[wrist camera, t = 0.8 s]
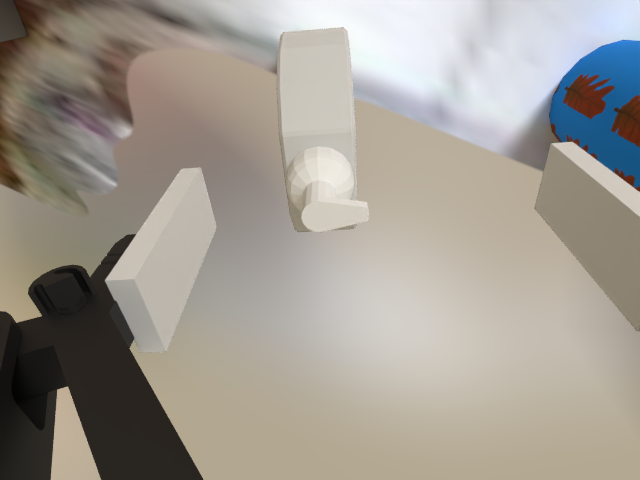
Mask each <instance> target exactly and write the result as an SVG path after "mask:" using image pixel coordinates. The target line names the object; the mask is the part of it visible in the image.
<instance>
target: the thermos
mask: <svg viewBox="0 0 640 480" xmlns="http://www.w3.org/2000/svg"><path fill="white" fill-rule="evenodd" d="M549 117H550V122H551V128H552V132H553V133H554V135H555V136H556V137H557V139H558V140H559V141H560V143H562V142H573V143H575V144H576V145H577V146H579V147H580V148H581V149H583V150H584V151H585V152H587V153H588V154H589V155H591V156H592V157H593V158H595V159H596V160H597V161H599V162H600V163H601V164H603V165H604V166H605V167H607V168H608V169H609V170H611V171H612V172H613V173H615V174H616V175H617V176H619V177H620V178H621V179H623V180H624V181H625V182H627V183H628V184H629V185H631V186H632V187H633V188H635V189H636V190H637V191H639V192H640V41H631V40H622V41H618V42H615V43H611V44H607V45H604V46H601V47H599V48H598V49H596V50H595V51H593V52H591V53H590V54H588V55H587V56H585V57H583V58H582V59H580V60H579V61H578V62H577V64H576V65H575V66H574V67H573V68H572V69H571V70H570V71H569V72H568V73H567V74H566V75H565V76H564V77H563V79H562V81H561V83H560V85H559V87H558V88H557V90H556V92H555V94H554V96H553V99H552V104H551V109H550V114H549Z"/></svg>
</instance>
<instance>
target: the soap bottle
mask: <svg viewBox="0 0 640 480" xmlns="http://www.w3.org/2000/svg"><path fill="white" fill-rule="evenodd" d="M277 100H278V101H277V103H278V121H279V137H280V145H281V151H282V160H283V168H284V175H285V183H286V190H287V197H288V205H289V212H290V216H291V219H292V222H293V225H294V228H295V230H297V232H309V231H314V232H324V231H329V230H343V229H354V228H355V227H356V226H357V223H361V222H365V221H368V219H369V209H368V204H367V202H362V201H357V174H356V139H355V118H354V99H353V82H352V70H351V58H350V46H349V40H348V33H347V30H346V29H345V28H344V27H341V28H329V29H317V30H305V31H293V32H283V34H282V35H281V37H280V42H279V47H278V52H277Z"/></svg>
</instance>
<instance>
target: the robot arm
mask: <svg viewBox="0 0 640 480" xmlns="http://www.w3.org/2000/svg"><path fill="white" fill-rule="evenodd" d="M535 209H536V210H537V211H538V213H539V214H540V215H541V217H542V218H543V219H544V220H545V221H546V223H547V224H548V225H549V226H550V227H551V229H552V230H553V231H554V232H555V233H556V234H557V236H558V237H559V238H560V239H561V241H562V242H563V243H564V244H565V245H566V246H567V248H568V249H569V250H570V251H571V253H572V254H573V255H574V256H575V257H576V259H577V260H578V261H579V262H580V263H581V264H582V266H583V267H584V268H585V269H586V271H587V272H588V273H589V274H590V276H591V277H592V278H593V279H594V280H595V282H596V283H597V284H598V285H599V286H600V288H601V289H602V290H603V291H604V292H605V294H606V295H607V296H608V297H609V298H610V300H611V301H612V302H613V303H614V304H615V306H616V307H617V308H618V309H619V310H620V312H621V313H622V314H623V315H624V316H625V318H626V319H627V320H628V321H629V322H630V323H631V325H632V326H633V327H634V328H635V330H636V331H640V192H639V191H637V190H636V189H635V188H633V187H632V186H631V185H629V184H628V183H627V182H625V181H624V180H623V179H621V178H620V177H619V176H617V175H616V174H615V173H613V172H612V171H611V170H609V169H608V168H607V167H605V166H604V165H603V164H601V163H600V162H599V161H597V160H596V159H595V158H593V157H592V156H591V155H589V154H588V153H587V152H585V151H584V150H583V149H581V148H580V147H579V146H577V145H576V144H575V143H573V142H562V143H551V145H550V149H549V153H548V157H547V161H546V165H545V169H544V173H543V177H542V181H541V184H540V188H539V193H538V196H537V200H536V205H535ZM216 228H217V227H216V223H215V219H214V215H213V212H212V208H211V204H210V200H209V196H208V192H207V189H206V185H205V182H204V177H203V174H202V170H201V168H186V169H181V170H180V172H179V173H178V175H177V176H176V178H175V179H174V180H173V182H172V183H171V185H170V186H169V188H168V189H167V191H166V192H165V194H164V195H163V197H162V198H161V199H160V201H159V202H158V204H157V205H156V207H155V208H154V210H153V211H152V213H151V214H150V215H149V217H148V218H147V220H146V221H145V223H144V224H143V226H142V227H141V229H140V230H139V231H138V233H137V234H132V235H126V236H125V237H124V238H122V239H121V240H119V241H118V242H117V243H115V245H114V246H113V247H112V248H111V250H110V251H109V252H108V254H107V256H106V257H105V258H104V259H103V261H102V262H101V265H99V266H98V267H97V269H96V270H95V271H94V273H93V274H92V275H91V277H89V275H88V273H87V271H86V270H85V269H84V268H83V267H82V266H78V265H68V266H62V267H59V268H56V269H53V270H51V271H49V272H47V273H45V274H43V275H41V276H40V277H39V278H37V279H36V280H35V281H34V282H33V283H32V284H31V286H30V287H29V291H28V294H29V296H30V298H31V299H32V301H33V302H34V304H35V305H36V307H37V308H38V310H39V311H40V313H41V314H42V316H41V317H37V318H34V319H30V320H26V321H22V322H18V323H16V322H15V320H14V319H13V318H12V316H11V315H10V314H8V313H7V312H2V311H0V480H50V479H51V466H52V452H53V439H54V425H55V411H56V398H57V389H60V388H64V387H67V386H68V387H69V390H70V393H71V396H72V399H73V401H74V404H75V407H76V410H77V413H78V416H79V418H80V421H81V424H82V427H83V430H84V432H85V435H86V438H87V441H88V444H89V446H90V449H91V452H92V455H93V458H94V460H95V463H96V466H97V469H98V472H99V475H100V478H101V480H203V478H202V476H201V474H200V473H199V471H198V469H197V467H196V466H195V464H194V462H193V460H192V459H191V457H190V455H189V453H188V452H187V450H186V448H185V446H184V445H183V443H182V441H181V439H180V437H179V436H178V434H177V432H176V430H175V428H174V427H173V425H172V423H171V422H170V420H169V418H168V416H167V414H166V413H165V411H164V409H163V407H162V406H161V404H160V402H159V400H158V399H157V397H156V395H155V393H154V391H153V390H152V388H151V386H150V384H149V383H148V381H147V379H146V377H145V376H144V374H143V372H142V370H141V368H140V367H139V365H138V363H137V361H136V360H135V358H134V356H133V354H132V353H131V351H130V349H129V348H130V346H131V344H132V342H133V340H134V341H135V343H136V344H137V347H138V348H139V351H140V353H152V352H166V351H167V349H168V346H169V344H170V342H171V339H172V336H173V334H174V331H175V329H176V327H177V324H178V321H179V319H180V317H181V314H182V312H183V309H184V307H185V304H186V302H187V300H188V297H189V294H190V292H191V290H192V287H193V285H194V282H195V280H196V277H197V275H198V272H199V270H200V267H201V265H202V263H203V260H204V258H205V255H206V253H207V250H208V247H209V245H210V243H211V240H212V238H213V235H214V233H215V230H216Z"/></svg>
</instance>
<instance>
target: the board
mask: <svg viewBox="0 0 640 480" xmlns="http://www.w3.org/2000/svg"><path fill="white" fill-rule="evenodd" d="M25 36H28V35H27V33H26V30H25V28H24V25H23V23H22V20H21V18H20V15H19V13H18V11H17V8H16V6H15V3H14V1H13V0H0V42H4V41H8V40H12V39H16V38H21V37H25Z"/></svg>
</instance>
